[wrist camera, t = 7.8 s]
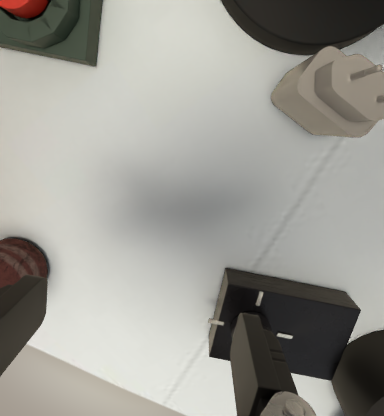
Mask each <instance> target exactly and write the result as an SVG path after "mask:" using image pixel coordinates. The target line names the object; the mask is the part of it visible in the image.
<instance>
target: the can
mask: <svg viewBox="0 0 384 416" xmlns="http://www.w3.org/2000/svg"><path fill="white" fill-rule="evenodd" d="M47 272H48V270H47V264H46V260H45V258H44V256H43V254H42V252H41V251H40V250H39V249H38V248H37V247H36V246H34V245H32V244H31V243H29V242H27V241H23V240H19V239H16V238H13V239H3V240H1V241H0V288H2V287H4V286H6V285H8V284H10V285H14V284H15V283H16V282H17V281H19V280H20V279H21V278H22V277H23V276H24V275H27V274H28V275H34V276H39V277H45V278H47Z"/></svg>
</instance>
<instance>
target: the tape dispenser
mask: <svg viewBox="0 0 384 416" xmlns="http://www.w3.org/2000/svg"><path fill="white" fill-rule="evenodd" d="M332 385H333V389H334V392H335V395H336V397H337V399H338V401H339V403H340V405H341V407H342V410H343V412H344V414H345V416H384V330H382V331H377V332H373V333H370V334H367V335H364V336H362V337H360V338H358V339H356V340H354V341H353V342H351V343H349V344H348V345H347V346H346V348H345V350H344V353H343V355H342V357H341V360H340V362H339V365H338V367H337V370H336V372H335V375H334V377H333V379H332Z"/></svg>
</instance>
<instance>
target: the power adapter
mask: <svg viewBox="0 0 384 416" xmlns="http://www.w3.org/2000/svg"><path fill="white" fill-rule="evenodd" d="M381 70H382V66H381V65H377V66H375V65H374V64H373V63H372V62H371V61H369V60H368V59H367V58H366V57H364V56H363V55H360V54H354V55H350V56H346V55H345V54H343V53H342V52H341V51H340V50H339V49H337V48H335V47H332V46H328V47H326V48H323V49H322V50H320V51H319V52H317V53H316V54H314V55H313V56H311V57H310V58H308V59H307V60H305V61H304V62H302V63H301V64H299V65H298V66H296V67H295V68H293V69H292V70H290V71H289V72H287V73H286V74H285V76H284V77H283V78H282V80H281V81H280V82H279V84H278V85H277V86H276V88H275V89H274V91H273V92H272V94H271V101H272V103H273V104H274V105H275V106H276V107H277V108H279V109H280V110H281V111H282V112H284V113H285V114H286V115H287V116H289V117H290V118H291V119H293V120H294V121H295V122H296V123H298V124H299V125H300V126H301V127H303V128H304V129H305V130H307V131H308V132H309V133H311V134H313V135H326V136H341V137H362V136H364V135H366V134H367V133H368V132H369V131H370V130H371V129H372V128H373V126H374V125H375V124H376V123H377V122H378V121H379V120H381V119H384V72H382V71H381Z"/></svg>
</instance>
